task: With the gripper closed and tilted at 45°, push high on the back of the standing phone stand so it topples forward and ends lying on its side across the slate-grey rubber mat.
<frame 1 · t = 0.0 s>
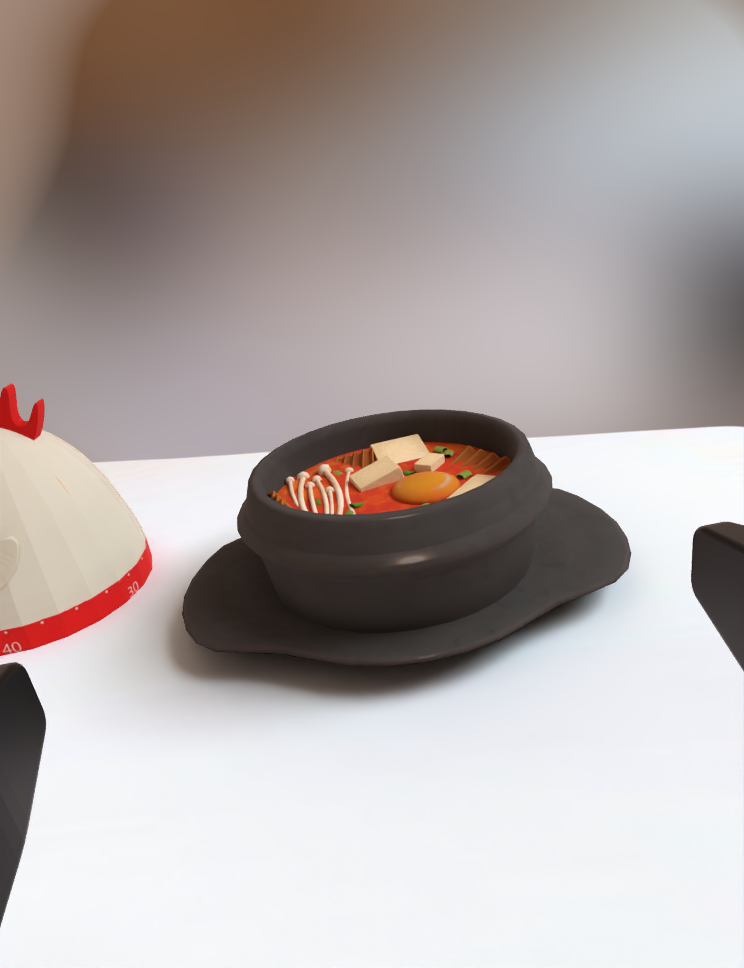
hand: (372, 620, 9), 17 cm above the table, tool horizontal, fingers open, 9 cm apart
casserole: (406, 590, 41), on the table
kitchen timer: (48, 593, 46), on the table
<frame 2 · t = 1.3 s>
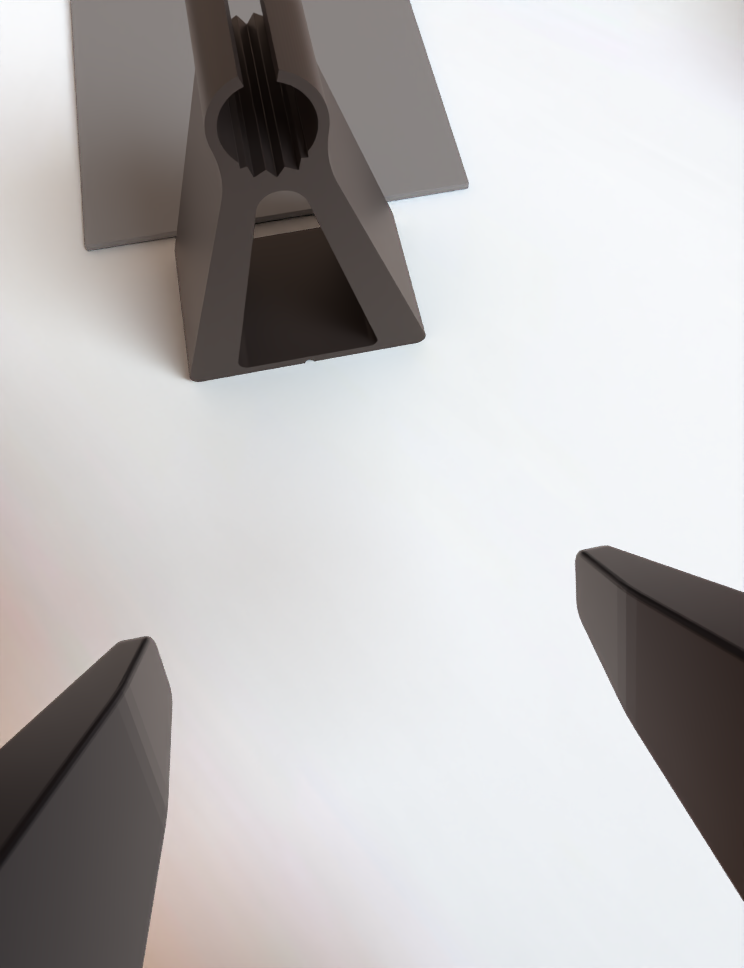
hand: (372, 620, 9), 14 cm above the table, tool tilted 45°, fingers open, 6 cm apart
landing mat: (252, 68, 32), on the table
phone stand: (298, 301, 28), on the table
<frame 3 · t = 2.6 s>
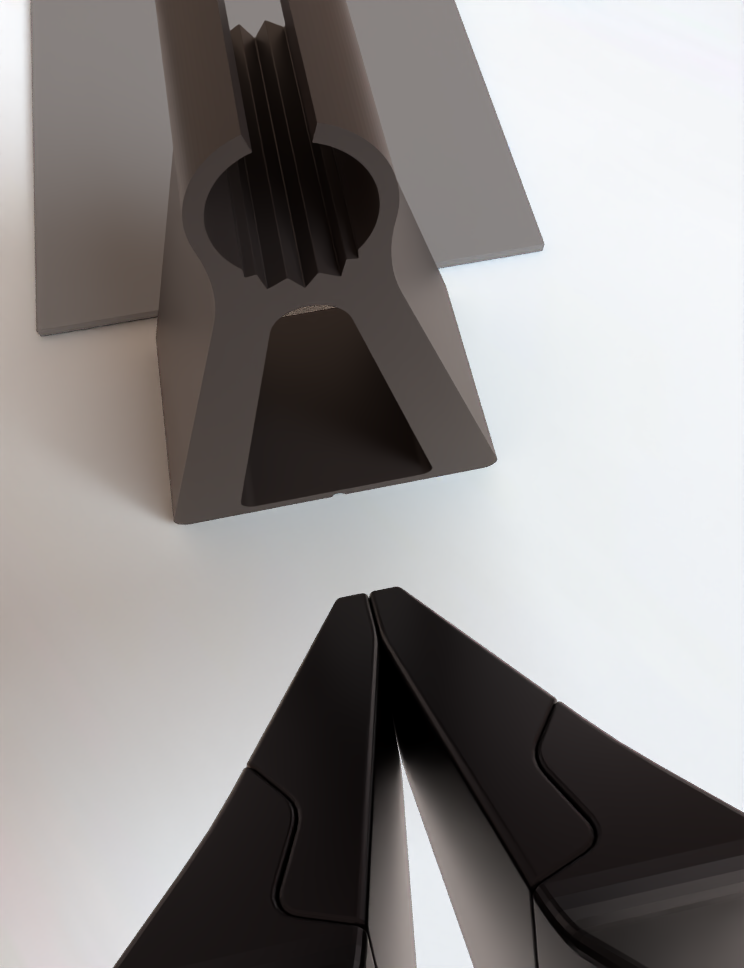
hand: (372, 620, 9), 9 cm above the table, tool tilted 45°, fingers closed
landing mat: (259, 93, 25), on the table
phone stand: (321, 406, 21), on the table
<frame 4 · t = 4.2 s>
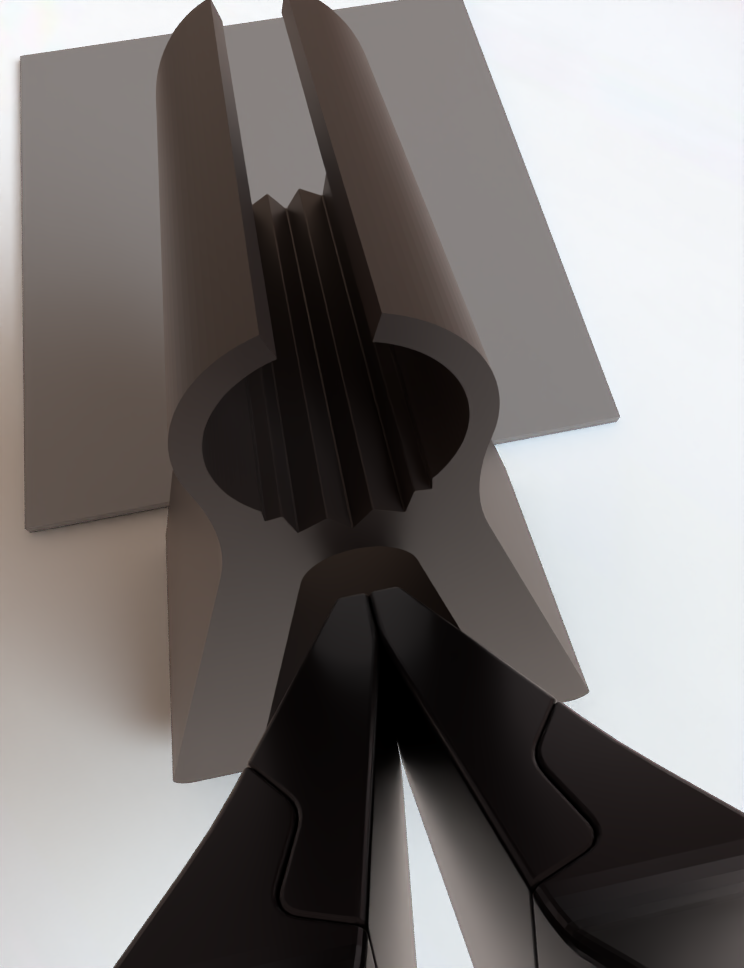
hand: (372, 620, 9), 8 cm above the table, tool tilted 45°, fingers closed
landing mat: (281, 219, 22), on the table
phone stand: (361, 618, 17), on the table
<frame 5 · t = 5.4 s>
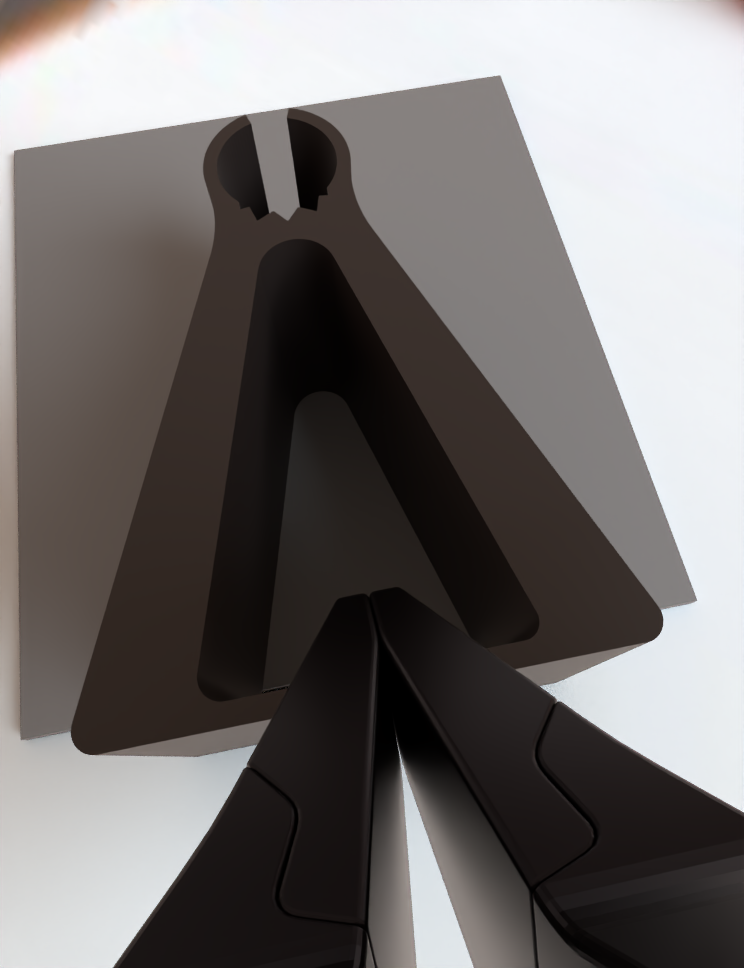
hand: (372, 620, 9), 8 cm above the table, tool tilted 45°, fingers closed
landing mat: (307, 349, 20), on the table
phone stand: (381, 721, 13), point 3 cm above the table, touching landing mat
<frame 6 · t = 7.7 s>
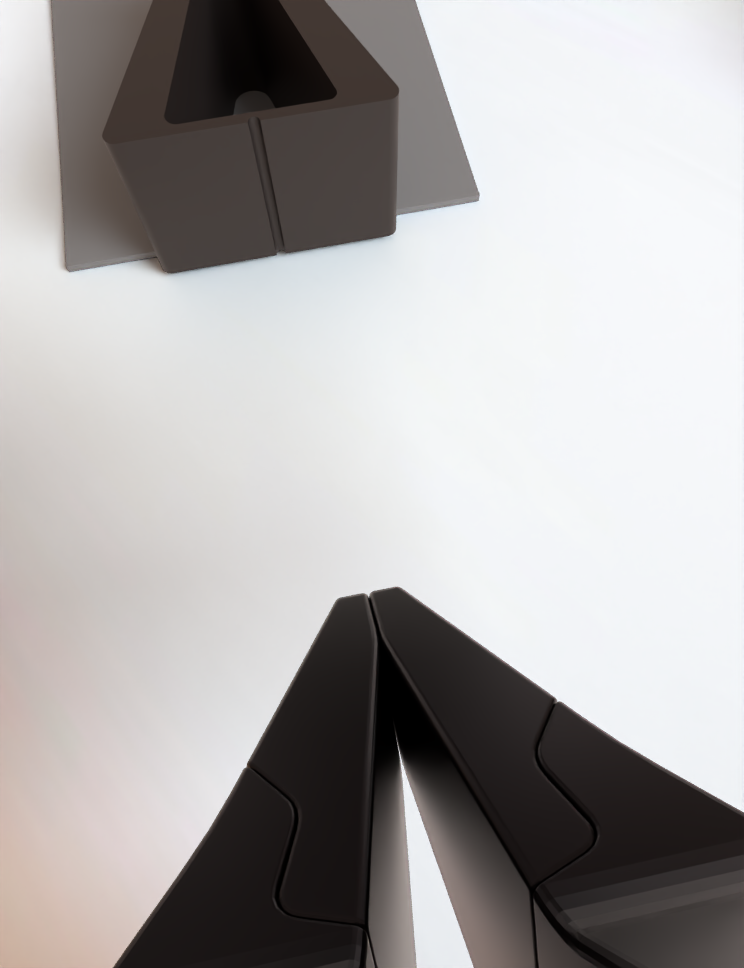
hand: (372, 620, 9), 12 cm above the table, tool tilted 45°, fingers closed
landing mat: (245, 71, 30), on the table
phone stand: (270, 200, 23), point 3 cm above the table, touching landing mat
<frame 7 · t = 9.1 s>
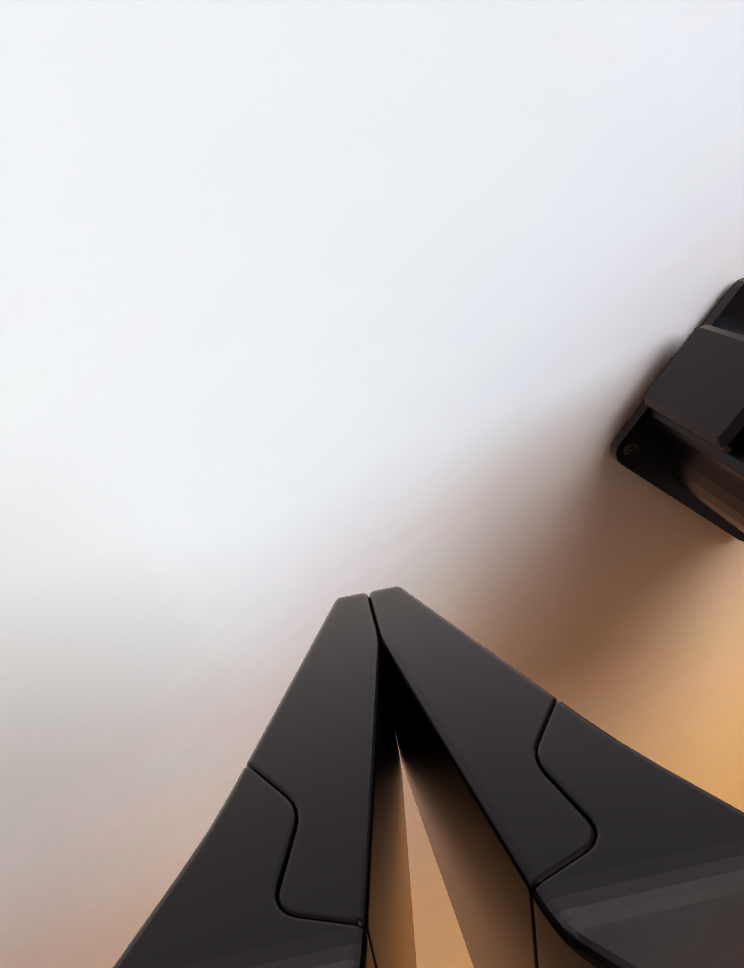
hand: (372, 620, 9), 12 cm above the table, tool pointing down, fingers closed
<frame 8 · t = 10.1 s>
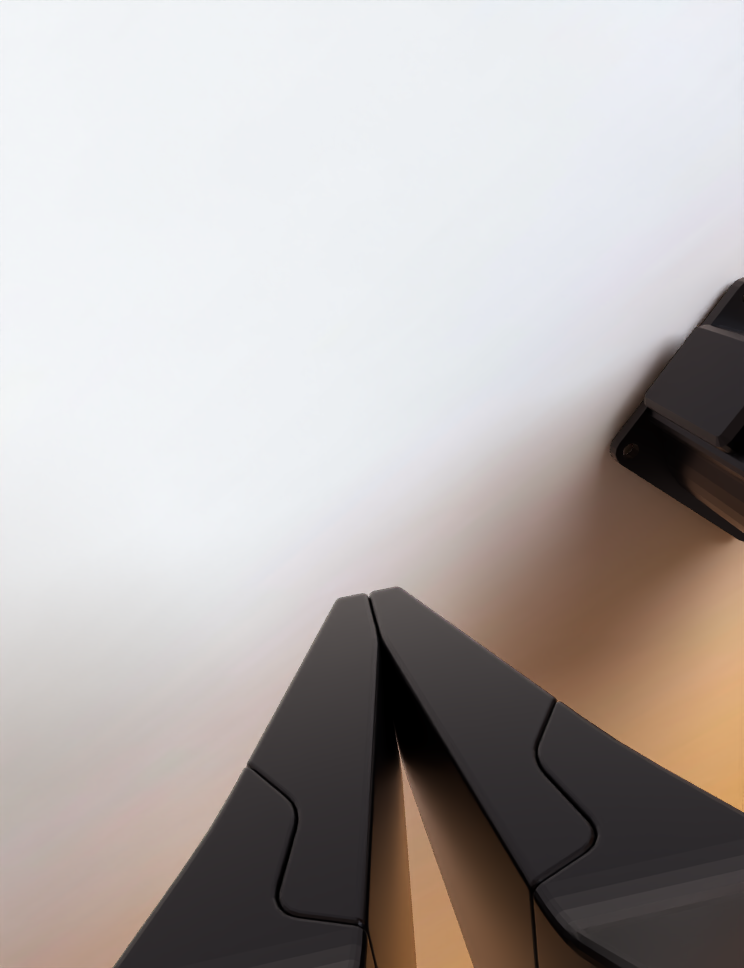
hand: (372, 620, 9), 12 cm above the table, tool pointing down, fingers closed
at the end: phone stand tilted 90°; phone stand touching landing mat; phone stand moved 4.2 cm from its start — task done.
